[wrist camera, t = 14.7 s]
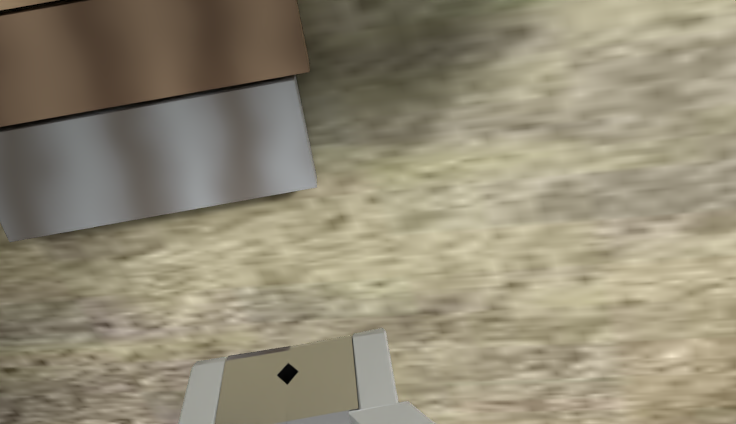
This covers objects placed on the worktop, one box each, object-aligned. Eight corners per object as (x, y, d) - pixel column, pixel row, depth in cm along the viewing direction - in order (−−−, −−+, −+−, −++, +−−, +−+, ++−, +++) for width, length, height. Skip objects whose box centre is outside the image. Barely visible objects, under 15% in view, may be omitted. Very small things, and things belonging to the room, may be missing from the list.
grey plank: (295, 73, 39) (294, 80, 37) (316, 175, 42) (316, 187, 40) (-22, 129, 39) (-38, 139, 37) (22, 228, 42) (9, 242, 40)
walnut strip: (288, -39, 36) (288, -35, 34) (309, 63, 39) (309, 72, 37) (-88, 27, 36) (-109, 35, 34) (-40, 125, 39) (-56, 136, 37)
